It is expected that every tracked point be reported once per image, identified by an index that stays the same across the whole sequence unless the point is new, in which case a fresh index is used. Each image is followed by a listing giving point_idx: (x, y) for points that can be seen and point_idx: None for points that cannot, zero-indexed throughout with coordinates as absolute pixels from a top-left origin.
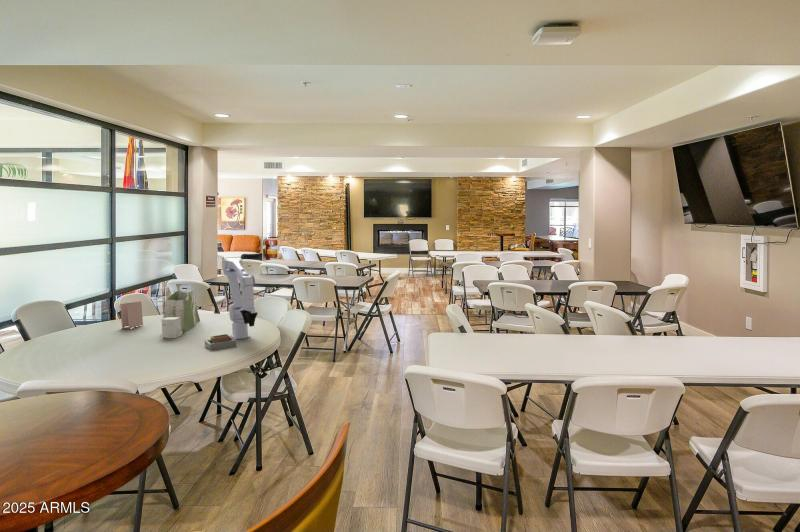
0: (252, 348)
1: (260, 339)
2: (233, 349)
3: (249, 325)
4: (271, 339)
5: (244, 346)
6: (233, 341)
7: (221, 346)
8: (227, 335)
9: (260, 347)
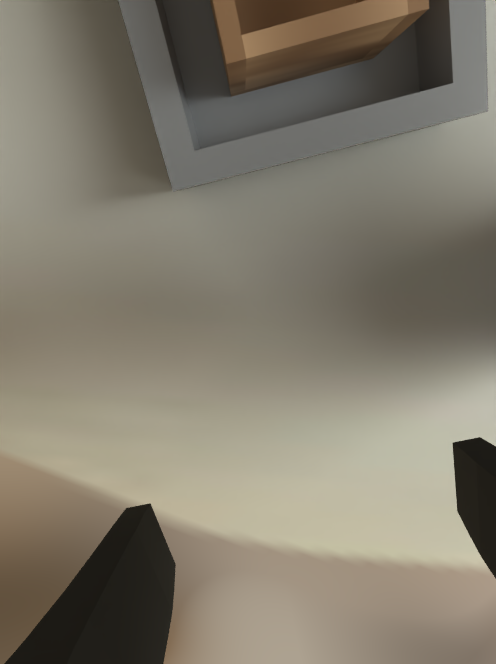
0: (8, 352)
1: (368, 452)
2: (17, 134)
3: (122, 520)
4: (311, 534)
5: (127, 277)
6: (161, 142)
7: None
8: (305, 18)
9: (29, 425)
